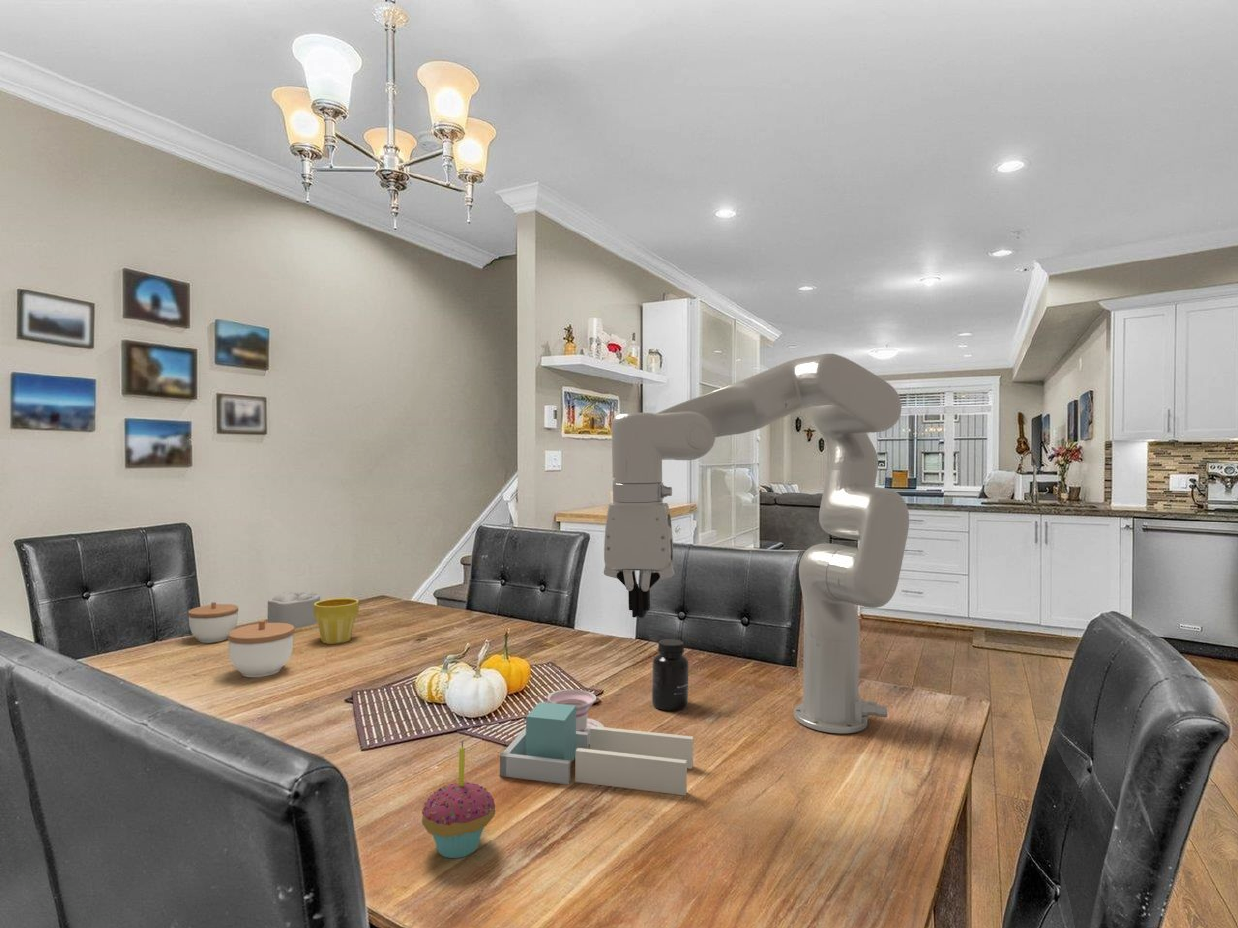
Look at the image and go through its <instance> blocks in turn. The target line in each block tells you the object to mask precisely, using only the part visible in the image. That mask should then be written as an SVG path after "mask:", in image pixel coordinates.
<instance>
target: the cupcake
mask: <svg viewBox="0 0 1238 928" xmlns="http://www.w3.org/2000/svg"><path fill="white" fill-rule="evenodd" d="M465 752H466V747H464V740H461V747H459V753H458V757H459V759H458V762H459V763H458V782H453V783H451V784H449V785H444V786H442V787H440V788H439V789H437V790H436V791H434V792H433V794H431V796H429V797H428V798H427V800H426V801H425V802H424V806H423V808H422V812H421V814H422V816H421V817H422V818H421V824H422V825H423V827H424V828H425V830H426V831H427V833H428V834H430V835H431V836H432V837H433V840H434V841H435V845H436V849H437V852H438V854H440V855H441V856H443V857H445V858H447V859H458V858H463V857H466V856H469V855H471V854H473V852H475V851H476V850H477V848H478V846H479V844H480V840H481V837H482V834H483V831H484V828H485V827H487V825H488V824H489V823H490V822H491V821H492V819H493V818H494V817H495V815H496V804H495V799H494V798H493V795H492V794H491V792H490V791H488V790H487V788H485V787H484V786H482V785H480V784H478V783H474V782H473V783H470V782H467V781H465V763H466V762H465V760H466V759H465V758H466V757H465V756H466V755H465V754H466V753H465Z"/></svg>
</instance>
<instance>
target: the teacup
mask: <svg viewBox="0 0 1238 928" xmlns="http://www.w3.org/2000/svg"><path fill="white" fill-rule="evenodd" d="M596 700H597V696H596V695H595V694H594V693H592V692H590V691H588V690H582V689H574V688H573V689H571V688H570V689H559V690H555V691H552V692H550V693H549V694H548V695H547V697H545V698H544V701H545V703H555V704H566V705H576V731H580V732H589V746H590V728H591V727H592V726H596V727H605V726H604V724H602V723H601V722H600V721H598V720H595V719H593V718H590V717H589V718H588V713H589V711H590V710H591V707H592V706H593V704H594V702H595V701H596Z"/></svg>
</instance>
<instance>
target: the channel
mask: <svg viewBox="0 0 1238 928" xmlns="http://www.w3.org/2000/svg"><path fill="white" fill-rule="evenodd" d="M574 760H575V761H574V762H575V765H574V766H575V768H574V770H575V773H574V774H575V775H574V777H575V778H574V779H575V780H574V781H575V783H582V784H583V783H584V784H589V785H599V786H606V787H615V788H621V789H631V790H638V791H645V792H646V791H647V792H656V793H664V794H670V795H671V794H672V795H679V796H687V788H688V787H687V786H688V785H687V783H688V782H687V779H688V777H687V776H688V775H687V773H688V772H687V771H688V769H690V770H693V766H694V736H690V735H682V734H681V735H680V734H672V733H664V732H662V733H660V732H653V731H643V730H636V729H635V730H634V729H633V730H631V729H625V728H624V729H623V728H615V727H605V726H604V727H596V726H592V727H591V728H590V745H589V749H583V748H577V749H576V752H575V758H574Z"/></svg>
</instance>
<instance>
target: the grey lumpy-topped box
mask: <svg viewBox="0 0 1238 928" xmlns="http://www.w3.org/2000/svg"><path fill="white" fill-rule="evenodd" d="M318 601H321V594H319V593H315V591H311V590H310V591H308V590H305V589H302V590H299V591H296V592H293V591H291V590H286V591H283V593H280V594H277V595H275V596H274V597H271V598H269V599H268V600H267V623H287V624H291V625H293V626H294V628H295V630H296V629H301V628H304V627H305V628H306V627H310V626H314V625H316V624H318V622H317V619H316V618H315V617H314V603H316V602H318Z"/></svg>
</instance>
